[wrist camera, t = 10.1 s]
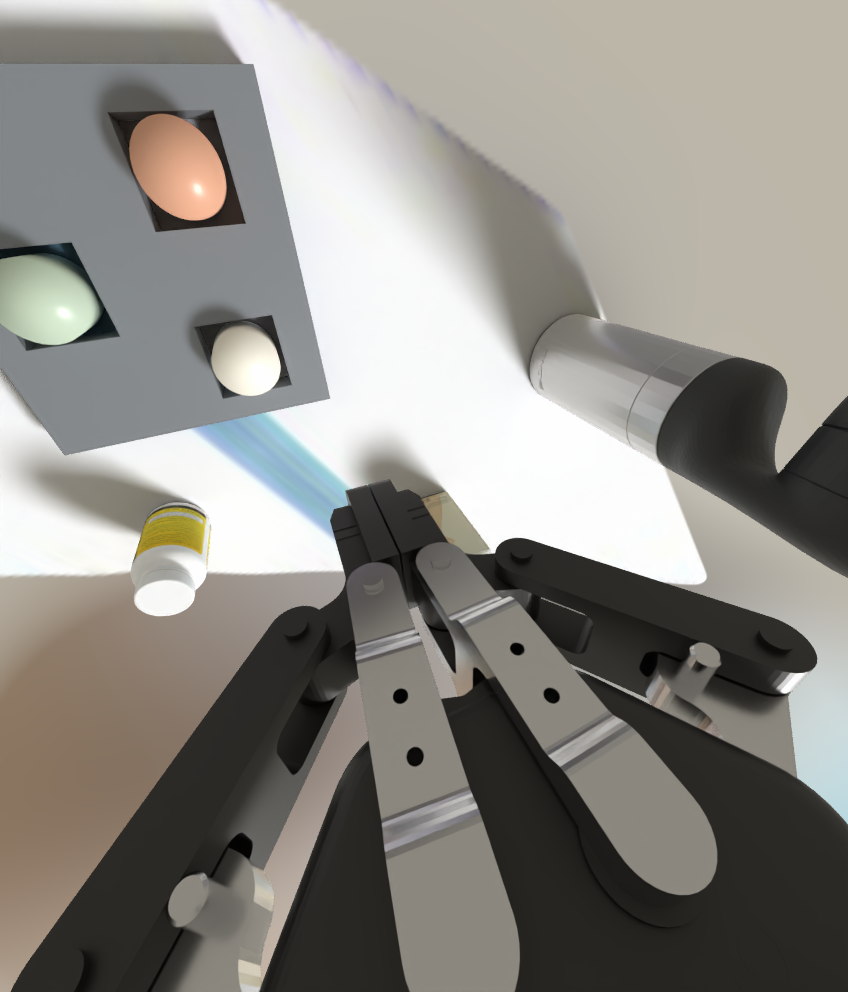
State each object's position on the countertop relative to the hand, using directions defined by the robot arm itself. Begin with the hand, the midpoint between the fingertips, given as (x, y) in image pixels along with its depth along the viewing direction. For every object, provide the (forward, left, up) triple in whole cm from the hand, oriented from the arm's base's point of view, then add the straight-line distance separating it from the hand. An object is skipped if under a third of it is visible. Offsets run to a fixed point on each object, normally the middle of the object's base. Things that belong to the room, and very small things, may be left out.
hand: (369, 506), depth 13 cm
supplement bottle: (+15, +15, -26) cm, 33 cm away
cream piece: (+4, 0, -25) cm, 25 cm away
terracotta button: (+4, -11, -25) cm, 27 cm away
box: (-11, +23, -26) cm, 36 cm away
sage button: (+14, -5, -25) cm, 29 cm away
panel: (+8, -5, -25) cm, 27 cm away
